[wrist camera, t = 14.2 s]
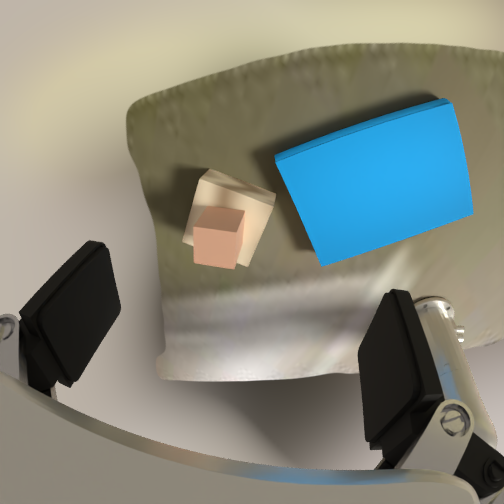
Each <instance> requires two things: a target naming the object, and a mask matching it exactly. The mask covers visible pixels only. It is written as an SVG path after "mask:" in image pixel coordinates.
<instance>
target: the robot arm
mask: <svg viewBox="0 0 504 504" xmlns="http://www.w3.org/2000/svg"><path fill="white" fill-rule="evenodd" d="M120 310H121V304H120V300H119V295H118V291H117V287H116V283H115V278H114V273H113V268H112V263H111V258H110V253H109V249H108V248H106V246H105V244H104V243H102V242H96V241H87V242H86V243H85V244H84V245H83V246H82V247H81V248H80V249H79V250H78V251H77V252H76V253H75V254H73V255H72V257H70V258H69V259H68V260H67V261H66V262H65V263H64V264H63V265H62V266H61V267H60V269H58V270H57V271H56V272H55V273H54V274H53V275H52V276H51V277H50V279H49V280H48V281H47V282H46V283H45V284H44V285H43V286H42V287H41V288H40V289H39V290H38V291H37V292H36V293H35V294H34V296H33V297H32V298H31V299H30V300H29V301H28V302H27V303H26V304H25V306H24V307H23V308H22V309H21V310H20V311H19V314H20V316H21V320H20V321H19V320H18V319H17V317H16V316H14V315H12V314H3V315H1V316H0V504H504V457H503V456H502V455H501V454H500V453H499V452H498V451H496V446H497V435H496V431H495V428H494V425H493V423H492V421H491V419H490V417H489V415H488V413H487V411H486V409H485V406H484V404H483V402H482V399H481V397H480V395H479V392H478V389H477V386H476V384H475V381H474V379H473V376H472V373H471V370H470V367H469V365H468V362H467V359H466V357H465V354H464V352H463V349H462V347H461V344H460V343H462V342H463V335H462V334H456V332H457V333H463V332H464V329H465V328H464V326H456V324H455V322H454V318H455V312H454V309H453V307H452V305H451V303H450V302H449V301H447V300H446V299H443V298H438V297H433V298H427V299H424V300H421V301H419V302H417V303H415V304H414V303H413V300H412V298H411V295H410V293H409V292H408V291H404V290H397V289H391V290H390V292H389V293H385V294H384V296H383V298H382V300H381V303H380V305H379V307H378V309H377V312H376V314H375V316H374V318H373V320H372V322H371V324H370V327H369V329H368V331H367V333H366V335H365V337H364V339H363V341H362V343H361V345H360V347H359V350H358V363H359V372H360V382H361V391H362V402H363V415H364V430H365V440H366V441H367V442H370V450H382V454H383V459H382V460H381V461H380V463H379V464H378V465H377V466H376V468H375V469H374V470H318V469H301V468H289V467H278V466H269V465H262V464H255V463H248V462H242V461H236V460H231V459H224V458H220V457H215V456H210V455H206V454H201V453H197V452H193V451H189V450H185V449H181V448H178V447H174V446H171V445H167V444H164V443H160V442H157V441H154V440H151V439H148V438H145V437H141V436H139V435H136V434H133V433H130V432H127V431H125V430H121V429H119V428H117V427H114V426H111V425H109V424H106V423H104V422H101V421H99V420H97V419H94V418H92V417H90V416H87V415H85V414H83V413H81V412H78V411H76V410H74V409H72V408H70V407H68V406H66V405H64V404H62V403H60V402H58V401H57V396H56V390H55V383H56V382H57V380H58V382H59V383H61V384H63V385H65V386H67V387H69V388H71V386H72V384H73V383H74V382H76V381H77V380H78V379H79V378H80V376H81V375H82V373H83V371H84V370H85V368H86V366H87V365H88V363H89V361H90V360H91V358H92V356H93V355H94V353H95V352H96V350H97V348H98V347H99V345H100V343H101V342H102V340H103V339H104V337H105V336H106V334H107V332H108V331H109V329H110V328H111V326H112V325H113V323H114V322H115V320H116V318H117V317H118V315H119V313H120Z"/></svg>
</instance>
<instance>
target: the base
mask: <svg viewBox="0 0 504 504" xmlns="http://www.w3.org/2000/svg"><path fill="white" fill-rule="evenodd" d="M275 198H276V193H273V192H271V191H268V190H266V189H263V188H260V187H258V186H255V185H253V184H250V183H247V182H245V181H242V180H239V179H237V178H234V177H231V176H229V175H226V174H223V173H220V172H218V171H215V170H212V169H209V170H208V171H207V172H206V173H205V174H204V175H203V176H202V177H201V178H200V179H199V182H198V186H197V189H196V193H195V196H194V200H193V204H192V207H191V211H190V214H189V218H188V222H187V226H186V230H185V233H184V237H183V241H182V242H184V243H187V244H190V245H192V246H194V241H193V226H194V225H195V223H196V222H197V220H198V219H199V217H200V216H201V215H202V213H203V212H204V210H205V209H206V207H207V206H213V207H221V208H229V209H236V210H244V211H245V221H244V233H243V244H242V247H241V250H240V253H239V256H238V259H237V262H236V263H239V264H242V265H244V266H247V267H248V265H249V263H250V261H251V258H252V256H253V254H254V251H255V249H256V247H257V244H258V242H259V240H260V237H261V235H262V233H263V230H264V228H265V226H266V223H267V221H268V219H269V216H270V214H271V212H272V209H273V207H274V203H275Z"/></svg>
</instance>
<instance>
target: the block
mask: <svg viewBox="0 0 504 504" xmlns="http://www.w3.org/2000/svg"><path fill="white" fill-rule="evenodd" d="M244 221H245V211H244V210H236V209H229V208H221V207H213V206H207V207H206V209H205V210H204V212H203V213H202V215H201V216H200V217H199V219H198V220H197V222H196V223H195V225H194V226H193V241H194V263H198V264H204V265H210V266H216V267H222V268H229V269H234V268H235V265H236V262H237V259H238V256H239V253H240V250H241V247H242V244H243V233H244Z"/></svg>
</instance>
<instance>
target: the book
mask: <svg viewBox="0 0 504 504" xmlns="http://www.w3.org/2000/svg"><path fill="white" fill-rule="evenodd" d="M275 161H276V162H275V163H276V165H277V167H278V169H279V171H280V173H281V176H282V178H283V180H284V182H285V184H286V186H287V188H288V191H289V193H290V195H291V197H292V199H293V202H294V204H295V206H296V208H297V211H298V213H299V215H300V217H301V220H302V222H303V224H304V227H305V229H306V231H307V233H308V236H309V238H310V240H311V243H312V245H313V247H314V250H315V252H316V255H317V257H318V259H319V262H320V264H321V267H322V266H325V265H328V264H332V263H335V262H338V261H341V260H344V259H347V258H350V257H353V256H356V255H359V254H362V253H365V252H368V251H371V250H374V249H377V248H380V247H383V246H386V245H389V244H392V243H395V242H397V241H400V240H403V239H406V238H409V237H412V236H415V235H417V234H420V233H423V232H426V231H429V230H431V229H434V228H437V227H440V226H442V225H445V224H448V223H451V222H453V221H456V220H459V219H461V218H464V217H467V216H469V215H472V214H473V204H472V196H471V188H470V181H469V175H468V169H467V163H466V158H465V153H464V148H463V143H462V139H461V135H460V130H459V126H458V122H457V119H456V115H455V111H454V108H453V104H452V103H450V102H449V101H448V100H447V99H445V98H442V99H438V100H434V101H431V102H427V103H423V104H420V105H416V106H413V107H409V108H406V109H402V110H399V111H396V112H393V113H389V114H386V115H383V116H380V117H377V118H374V119H371V120H368V121H365V122H362V123H359V124H356V125H353V126H350V127H347V128H344V129H341V130H339V131H336V132H333V133H330V134H328V135H325V136H322V137H319V138H317V139H314V140H312V141H309V142H306V143H304V144H301V145H299V146H296V147H293V148H291V149H288V150H286V151H283V152H281V153H279V154H276V155H275Z"/></svg>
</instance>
